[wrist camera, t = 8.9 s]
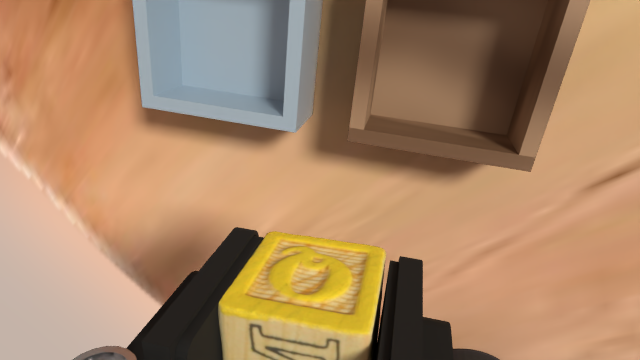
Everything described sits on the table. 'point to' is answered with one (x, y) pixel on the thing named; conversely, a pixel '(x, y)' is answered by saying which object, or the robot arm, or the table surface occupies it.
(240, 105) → the slate box
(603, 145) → the table surface
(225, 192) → the table surface
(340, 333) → the alphabet block
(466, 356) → the travel mug
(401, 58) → the walnut box
